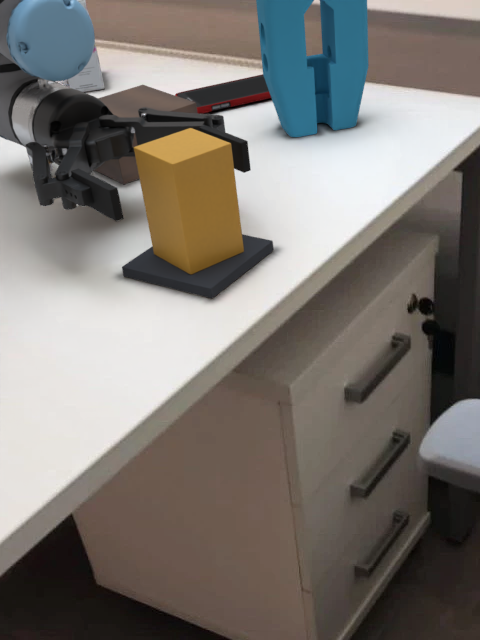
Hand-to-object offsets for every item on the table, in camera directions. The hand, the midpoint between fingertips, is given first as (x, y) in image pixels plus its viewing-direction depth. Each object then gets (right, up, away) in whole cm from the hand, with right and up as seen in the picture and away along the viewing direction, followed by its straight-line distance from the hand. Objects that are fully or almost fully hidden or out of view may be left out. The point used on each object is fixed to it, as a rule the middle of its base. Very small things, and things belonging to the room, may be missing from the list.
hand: (184, 180), depth 76 cm
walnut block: (-9, +11, +27) cm, 31 cm away
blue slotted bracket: (+12, +16, +32) cm, 38 cm away
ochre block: (+1, -5, +5) cm, 7 cm away
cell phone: (+1, +24, +42) cm, 48 cm away
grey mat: (+1, -6, +5) cm, 8 cm away
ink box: (-21, +30, +52) cm, 64 cm away
